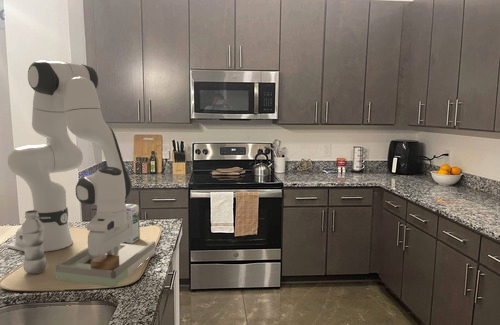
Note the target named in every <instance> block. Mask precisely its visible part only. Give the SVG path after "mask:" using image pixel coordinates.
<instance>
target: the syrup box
mask: <svg viewBox="0 0 500 325" xmlns="http://www.w3.org/2000/svg"><path fill="white" fill-rule="evenodd" d="M125 205H126V211H127V212H128V213H129V214H130V218H131V219H132V225H133V236H132V237H131V238H129V239H128V240H126V241H125V242H127V243H126V244H134V243H135V242H137V241H138V240H140V239H141V235H140V234H141V233H140V229H141V228H140V210H139V209H140V207H139V205H138V204H135V203H125Z"/></svg>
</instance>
